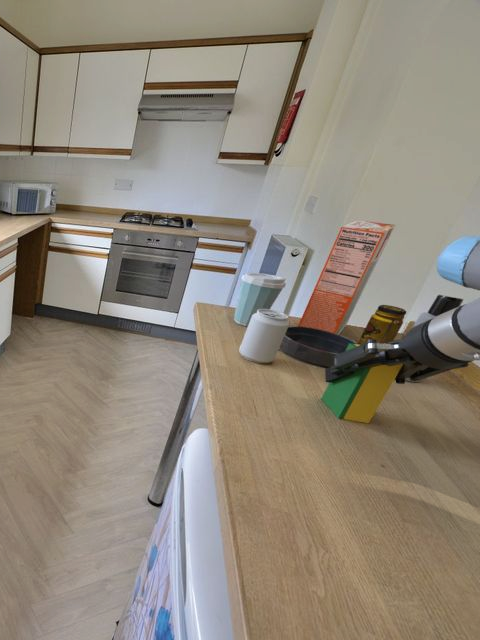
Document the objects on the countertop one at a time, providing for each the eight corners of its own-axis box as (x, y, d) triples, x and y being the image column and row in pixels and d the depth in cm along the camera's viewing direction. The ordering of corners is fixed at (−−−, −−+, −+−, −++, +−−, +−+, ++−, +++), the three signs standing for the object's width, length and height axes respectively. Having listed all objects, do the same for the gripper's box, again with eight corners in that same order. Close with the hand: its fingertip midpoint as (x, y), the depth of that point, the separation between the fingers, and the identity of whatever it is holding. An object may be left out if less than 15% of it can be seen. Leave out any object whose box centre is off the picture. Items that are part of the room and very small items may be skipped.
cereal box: (313, 317, 129) (357, 220, 116) (345, 326, 124) (395, 225, 111) (293, 335, 115) (341, 226, 102) (329, 345, 110) (384, 232, 97)
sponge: (348, 403, 84) (379, 347, 78) (368, 423, 78) (403, 364, 72) (320, 399, 85) (349, 343, 79) (338, 418, 79) (370, 359, 73)
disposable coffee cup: (218, 318, 124) (235, 270, 118) (241, 314, 128) (258, 268, 122) (252, 332, 115) (272, 281, 109) (276, 328, 120) (296, 278, 113)
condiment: (347, 344, 111) (368, 303, 106) (372, 343, 113) (394, 302, 107) (375, 357, 105) (398, 313, 99) (401, 356, 106) (426, 313, 101)
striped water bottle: (387, 375, 96) (433, 295, 87) (387, 367, 100) (431, 289, 91) (421, 385, 92) (473, 302, 84) (419, 376, 96) (469, 296, 87)
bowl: (377, 372, 97) (385, 357, 95) (306, 368, 97) (313, 353, 95) (321, 340, 113) (328, 327, 111) (260, 337, 112) (265, 324, 111)
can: (230, 353, 103) (247, 308, 97) (250, 349, 106) (267, 305, 100) (259, 367, 97) (279, 320, 91) (280, 362, 99) (299, 316, 94)
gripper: (382, 351, 62) (293, 388, 83) (539, 373, 58) (403, 406, 79) (378, 306, 64) (292, 353, 85) (529, 324, 60) (399, 369, 81)
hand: (345, 378), depth 82 cm, fingers open, 6 cm apart
